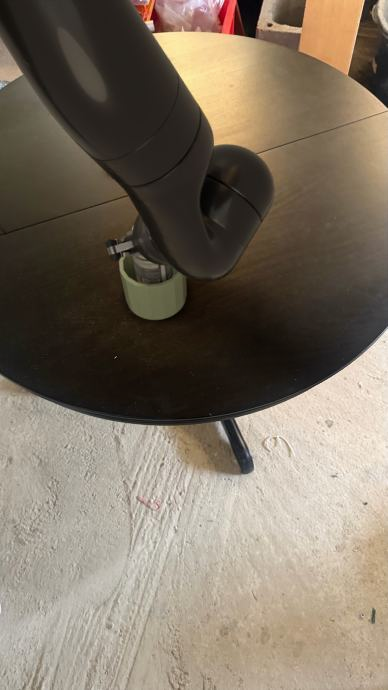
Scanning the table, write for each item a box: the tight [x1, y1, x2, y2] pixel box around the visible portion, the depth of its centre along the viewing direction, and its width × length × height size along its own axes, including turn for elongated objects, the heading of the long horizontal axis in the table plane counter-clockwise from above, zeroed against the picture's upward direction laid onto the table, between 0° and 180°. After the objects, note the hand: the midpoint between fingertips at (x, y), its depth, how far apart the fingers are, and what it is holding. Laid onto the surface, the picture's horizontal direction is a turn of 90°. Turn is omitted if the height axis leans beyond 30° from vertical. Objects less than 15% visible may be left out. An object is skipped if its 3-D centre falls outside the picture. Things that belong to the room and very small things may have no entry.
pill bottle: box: [131, 227, 173, 285], centre depth 69 cm, size 6×6×10 cm
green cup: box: [118, 252, 188, 321], centre depth 74 cm, size 10×10×8 cm
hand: (146, 240), depth 69 cm, fingers closed on pill bottle, 5 cm apart
